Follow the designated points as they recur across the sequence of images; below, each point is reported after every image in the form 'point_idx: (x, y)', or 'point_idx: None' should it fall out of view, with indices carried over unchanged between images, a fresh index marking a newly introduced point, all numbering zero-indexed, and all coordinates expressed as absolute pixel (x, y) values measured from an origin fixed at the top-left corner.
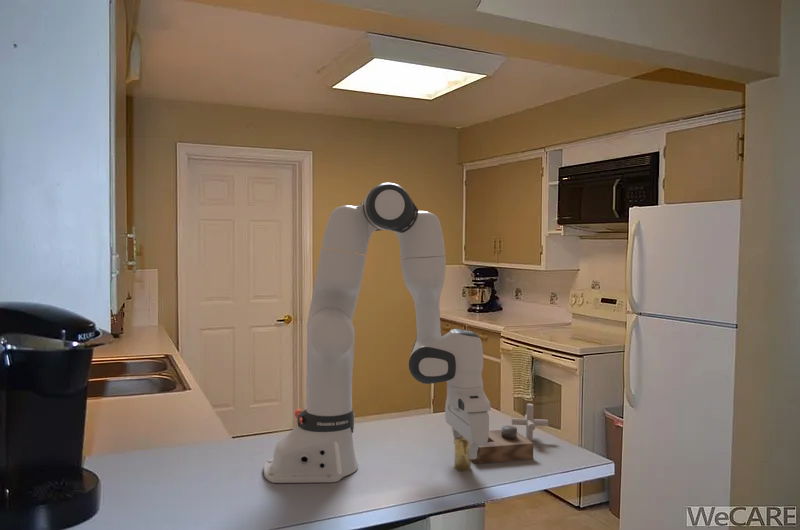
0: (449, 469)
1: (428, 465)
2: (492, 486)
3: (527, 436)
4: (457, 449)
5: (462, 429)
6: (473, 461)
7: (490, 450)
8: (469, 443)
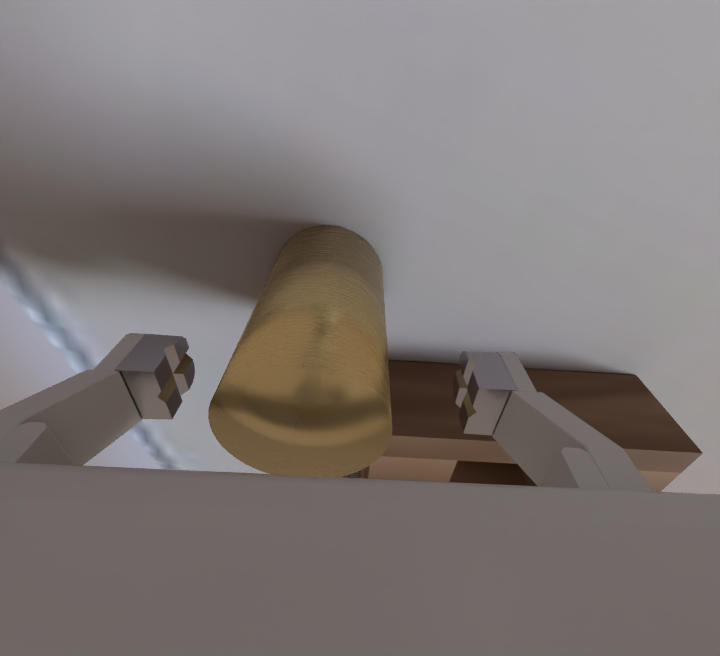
0: (323, 179)
1: (468, 13)
2: (39, 314)
3: None
4: (271, 311)
5: (26, 593)
6: (392, 363)
7: (365, 472)
8: (15, 438)
